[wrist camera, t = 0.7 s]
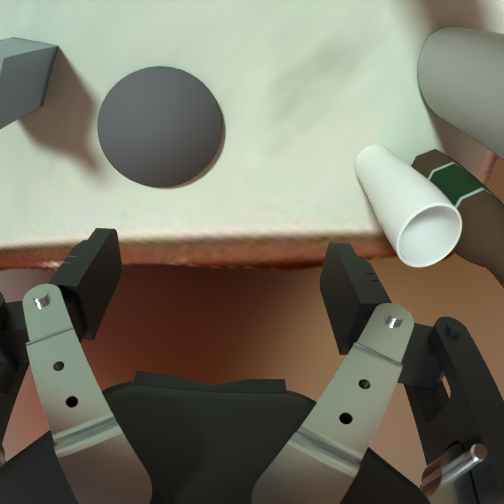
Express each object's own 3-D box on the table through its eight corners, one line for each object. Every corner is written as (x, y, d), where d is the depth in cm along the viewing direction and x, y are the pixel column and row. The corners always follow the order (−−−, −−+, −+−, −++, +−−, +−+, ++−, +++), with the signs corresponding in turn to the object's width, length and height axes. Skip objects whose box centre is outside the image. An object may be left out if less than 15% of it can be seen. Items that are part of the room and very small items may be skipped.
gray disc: (122, 50, 26) (119, 51, 26) (243, 95, 30) (243, 96, 30) (88, 161, 34) (86, 164, 33) (193, 200, 38) (192, 203, 37)
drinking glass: (354, 132, 33) (413, 196, 21) (405, 143, 33) (474, 209, 22) (341, 184, 37) (384, 266, 25) (389, 192, 38) (443, 270, 26)
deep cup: (12, 37, 22) (-44, 51, 14) (58, 45, 24) (4, 58, 17) (0, 93, 26) (-52, 119, 19) (42, 105, 29) (-8, 134, 21)
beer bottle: (400, 201, 38) (494, 352, 20) (408, 146, 34) (537, 285, 15) (447, 200, 38) (545, 333, 19) (457, 148, 33) (584, 271, 15)
